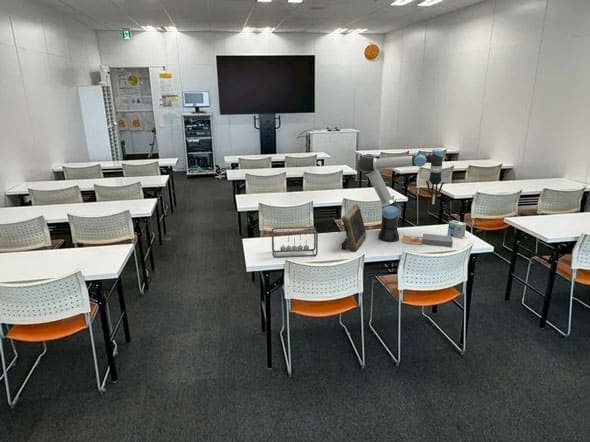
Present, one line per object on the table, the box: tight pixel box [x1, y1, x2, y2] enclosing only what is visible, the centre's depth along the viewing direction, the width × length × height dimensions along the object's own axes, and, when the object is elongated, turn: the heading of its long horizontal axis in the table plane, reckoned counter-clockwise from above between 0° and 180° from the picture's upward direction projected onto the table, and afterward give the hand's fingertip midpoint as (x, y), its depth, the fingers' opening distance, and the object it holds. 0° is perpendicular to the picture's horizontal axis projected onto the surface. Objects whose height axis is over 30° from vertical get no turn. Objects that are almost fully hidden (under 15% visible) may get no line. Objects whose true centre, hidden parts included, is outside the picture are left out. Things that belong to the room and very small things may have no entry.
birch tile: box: [410, 235, 423, 242], centre depth 291 cm, size 8×6×2 cm
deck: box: [422, 233, 454, 248], centre depth 287 cm, size 20×12×4 cm, turn 72°
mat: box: [401, 234, 423, 246], centre depth 292 cm, size 14×16×1 cm
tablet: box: [340, 204, 367, 253], centre depth 283 cm, size 33×14×25 cm, turn 162°
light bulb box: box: [446, 219, 467, 239], centre depth 299 cm, size 11×7×11 cm, turn 43°
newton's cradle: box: [271, 225, 319, 259], centre depth 266 cm, size 30×10×18 cm, turn 95°
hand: (433, 203), depth 290 cm, fingers closed
